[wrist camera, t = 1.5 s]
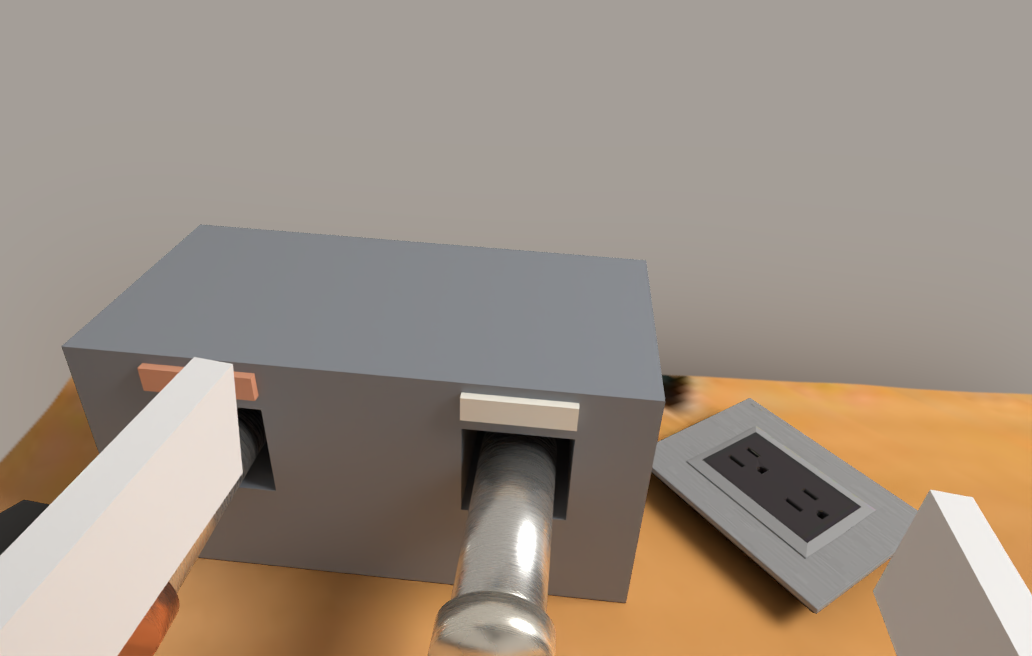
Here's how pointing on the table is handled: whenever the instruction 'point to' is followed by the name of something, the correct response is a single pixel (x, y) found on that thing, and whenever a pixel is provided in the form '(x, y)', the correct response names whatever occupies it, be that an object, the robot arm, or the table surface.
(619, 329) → the housing
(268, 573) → the table surface
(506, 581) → the silver metal peg
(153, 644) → the plug terracotta
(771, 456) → the electrical outlet
